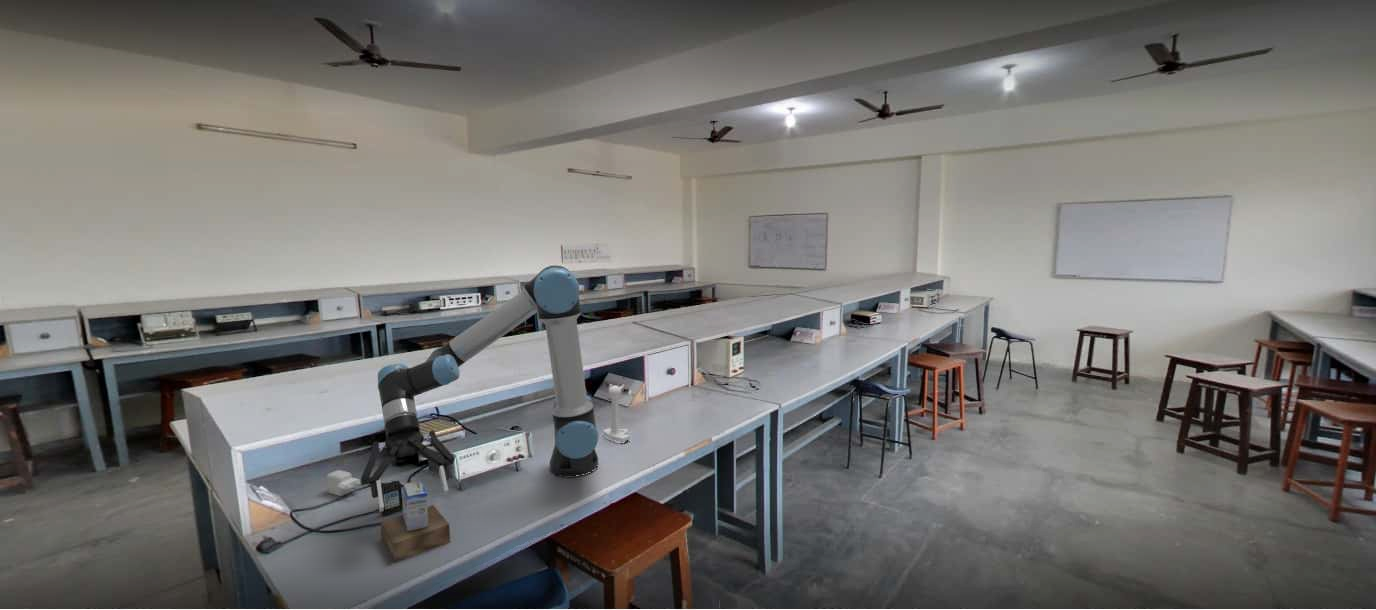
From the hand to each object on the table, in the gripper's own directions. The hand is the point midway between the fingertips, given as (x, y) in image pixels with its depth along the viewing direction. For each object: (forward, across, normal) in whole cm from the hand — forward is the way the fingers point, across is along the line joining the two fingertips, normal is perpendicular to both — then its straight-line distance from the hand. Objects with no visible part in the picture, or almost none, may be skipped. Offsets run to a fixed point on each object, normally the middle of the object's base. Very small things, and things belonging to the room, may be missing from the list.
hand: (415, 501), depth 125 cm
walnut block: (+7, 0, -10) cm, 12 cm away
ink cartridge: (-6, +3, -22) cm, 23 cm away
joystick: (-14, -71, -30) cm, 78 cm away
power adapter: (-19, +12, -35) cm, 42 cm away
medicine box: (+3, 0, -6) cm, 7 cm away
